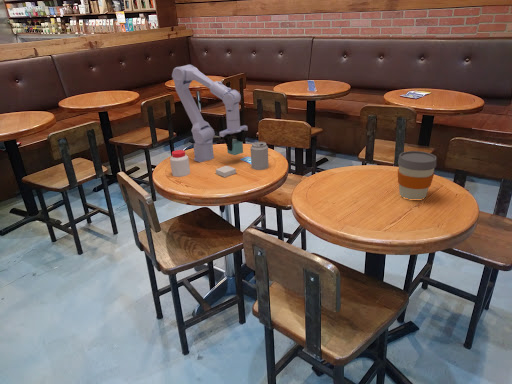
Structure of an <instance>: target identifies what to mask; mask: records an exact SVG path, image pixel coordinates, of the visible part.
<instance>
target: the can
mask: <svg viewBox="0 0 512 384" xmlns="http://www.w3.org/2000/svg"><path fill="white" fill-rule="evenodd" d="M250 161H251V169H252V170H256V171H262V170H263V171H264V170H266V169H268V168H269V146H268V145H267V143H266V142H264V141H255V142H252V143H251V146H250Z"/></svg>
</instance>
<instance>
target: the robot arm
mask: <svg viewBox="0 0 512 384" xmlns="http://www.w3.org/2000/svg"><path fill="white" fill-rule="evenodd" d="M171 78H172V80H173V82H174V88H175V89H174V90H175V92H176V93H177V95H178V97H179V99H180V102H181V103H182V106H183V107H184V108H183V109H184V110H185V113H186V114H187V116H188V118H189V120H190V122H191V124H192V128H191V133H192V140H193V141H194V143H193V154H194V158H193V161H196V162H197V163H203V162H206V161H212V160H214V159H215V155H214V147H213V145H214V144H213V141H214V139H213V138H214V137H215V135H216V134H215V129H213V127H212V126H211V125H210V123H209V122H208V121H206V120H204V118H203V116H202V114H201V112H200V110H199V108H198V105H197V103H196V100H195V99H194V96H193V95H192V93H191V91H190V85H191V83H192V81H195V82H197V83H199V84H201V85H202V86H204V87H206V88H208V89H209V90H210V91H209V92H210V93H211V94H212V95H214V96H216V97H217V98H218V99H220V100H222V103H223V104H224V106H225V108H224V109H225V114H226V116H225V119H226V129H224V130H221V131H219V137H222V139H223V140H224V142H225V145H226V148H228V150H230V151H232V141H233V139H234V136H231V135H232V134H233V135H234V134H235V137H236V140H237V141H241V142H244V139H245V136H246V135H247V132H246V131H248V130H249V129H248V125H246V124H244V125H241V121H240V120H241V119H240V118H241V117H240V102H241V98H242V96H241V93H240V92H239V91H238V90H237V89H232V88H231V87H227V86H226V85H224V84H223V82H222V81H221V80H219V81H218V80H216V81H214V80H212V79H211V78H209V77H208V76H207V75H205V74H204V73H203V72H201V71H200V70H199V69H198V68H197V67H196V66H194V65H192V64H186V65H182V66H176V67H174V68H173V70H172V72H171Z"/></svg>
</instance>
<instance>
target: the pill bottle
mask: <svg viewBox="0 0 512 384" xmlns="http://www.w3.org/2000/svg"><path fill="white" fill-rule="evenodd" d="M169 162H170V170H171V175H172V176H173V177H176V178H177V177H179V178H181V177H186V176H188V175H190V174H191V169H190V159H189V156H188V155H187V154H186V151H185V150H184V149H175V150H172V152H171V157H170V158H169Z"/></svg>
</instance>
